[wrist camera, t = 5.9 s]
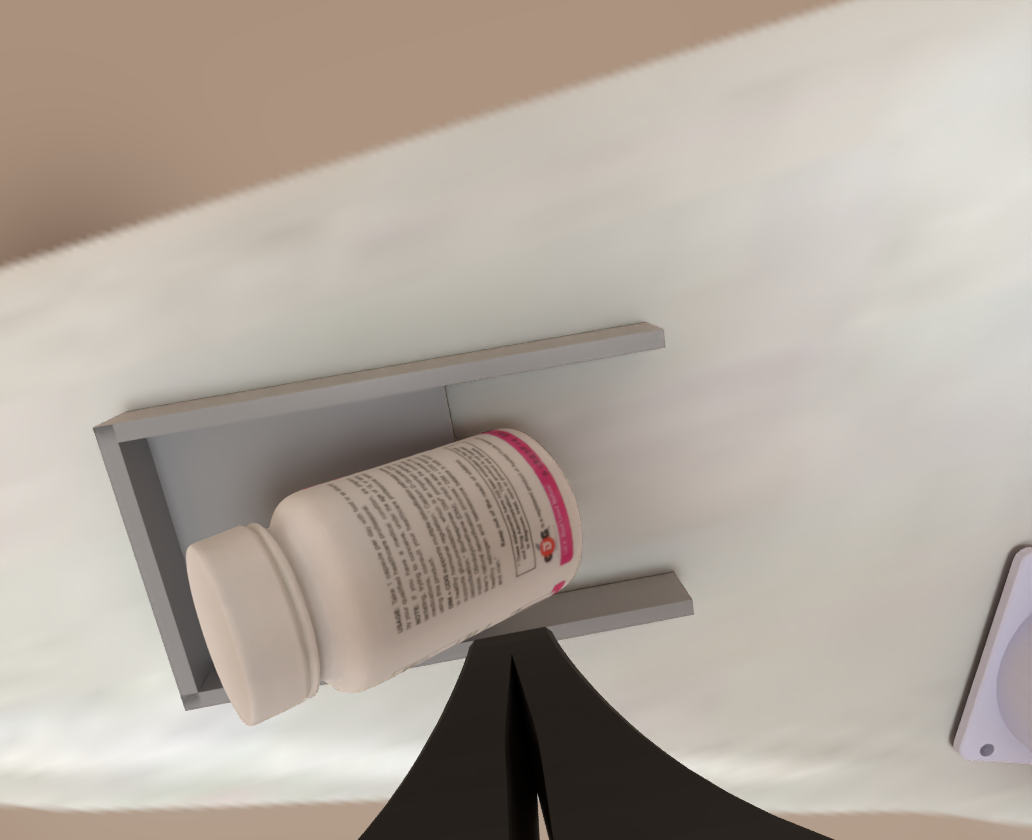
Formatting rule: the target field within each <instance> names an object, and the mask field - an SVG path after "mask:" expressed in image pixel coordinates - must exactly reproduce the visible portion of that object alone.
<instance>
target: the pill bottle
mask: <svg viewBox="0 0 1032 840" xmlns="http://www.w3.org/2000/svg"><path fill="white" fill-rule="evenodd" d="M581 553H582V527H581V519H580V514H579V510H578V506H577V503H576V500H575V497H574V494H573V492H572V490H571V487H570V485H569V483H568V481H567V479H566V478H565V476H564V474H563V473H562V471H561V469H560V468H559V466H558V465H557V463H556V462H555V461H554V459H553V458H552V457H551V456H550V455H549V454H548V452H547V451H546V450H545V449H544V448H543V447H542V446H541V445H540V444H539V443H538V442H537V441H535V440H534V439H533V438H531V437H530V436H528V435H526V434H525V433H523V432H521V431H518V430H515V429H509V428H502V429H494V430H491V431H487V432H483V433H481V434H478V435H474V436H471V437H468V438H465V439H462V440H459V441H456V442H453V443H450V444H447V445H444V446H441V447H438V448H435V449H432V450H428V451H425V452H422V453H418V454H415V455H412V456H409V457H406V458H403V459H399V460H397V461H393V462H390V463H386V464H384V465H381V466H378V467H374V468H371V469H368V470H365V471H361V472H358V473H355V474H352V475H349V476H345V477H341V478H338V479H335V480H332V481H329V482H326V483H322V484H318V485H315V486H312V487H309V488H305V489H302V490H300V491H298V492H295V493H293V494H291V495H289V496H287V497H286V498H285V499H284V500H282V501H281V502H280V503H279V505H278V506H277V507H276V509H275V511H274V513H273V515H272V519H271V522H270V527H269V528H267V529H265V528H264V527H262V526H261V525H259V524H257V523H250V524H249V525H248V526H247V527H245V526H237V527H234V528H232V529H229V530H227V531H224V532H222V533H219V534H217V535H214V536H212V537H209V538H206V539H203V540H201V541H198V542H195V543H193V544H191V545H190V546H189V547H188V548H187V552H186V565H187V574H188V579H189V584H190V589H191V593H192V597H193V601H194V605H195V608H196V612H197V615H198V619H199V622H200V626H201V629H202V632H203V635H204V638H205V641H206V644H207V647H208V650H209V653H210V655H211V658H212V661H213V663H214V666H215V668H216V671H217V673H218V676H219V678H220V680H221V683H222V685H223V687H224V689H225V692H226V694H227V696H228V698H229V700H230V702H231V704H232V705H233V707H234V709H235V711H236V712H237V714H238V715H239V717H240V718H241V720H242V721H243V722H244V723H245V724H246V725H248V726H253V725H256V724H259V723H261V722H263V721H265V720H267V719H269V718H271V717H273V716H275V715H278V714H280V713H282V712H284V711H286V710H288V709H290V708H292V707H294V706H296V705H298V704H300V703H302V702H303V701H304V700H305V699H306V698H312V697H313V696H315V695H316V693H317V691H318V689H319V684H320V681H325V682H326V683H327V684H329V685H330V686H332V687H333V688H335V689H337V690H340V691H343V692H350V693H354V692H360V691H364V690H366V689H369V688H371V687H374V686H376V685H378V684H380V683H382V682H384V681H386V680H388V679H390V678H392V677H394V676H396V675H398V674H400V673H402V672H404V671H406V670H407V669H409V668H411V667H413V666H415V665H417V664H419V663H421V662H423V661H425V660H427V659H429V658H431V657H433V656H435V655H437V654H439V653H441V652H443V651H445V650H447V649H449V648H451V647H452V646H454V645H456V644H459V643H461V642H462V641H464V640H466V639H468V638H470V637H472V636H474V635H476V634H478V633H480V632H481V631H483V630H485V629H487V628H489V627H491V626H493V625H495V624H497V623H499V622H501V621H503V620H505V619H507V618H509V617H511V616H513V615H515V614H517V613H519V612H521V611H523V610H525V609H527V608H529V607H531V606H533V605H535V604H537V603H539V602H541V601H543V600H545V599H546V598H549V597H550V596H552V595H554V594H555V593H557V592H558V591H560V590H561V589H563V588H564V587H565V586H566V585H568V583H569V582H570V581H571V580H572V578H573V577H574V575H575V573H576V571H577V569H578V566H579V563H580V559H581Z"/></svg>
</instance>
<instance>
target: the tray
mask: <svg viewBox="0 0 1032 840" xmlns="http://www.w3.org/2000/svg"><path fill="white" fill-rule="evenodd" d="M659 348H665V340H664V330H663V329H662V328H659V327H657V326H654V325H652V324H649V323H647V322H644V323H638V324H632V325H626V326H620V327H615V328H609V329H603V330H597V331H591V332H586V333H580V334H574V335H568V336H562V337H557V338H551V339H545V340H539V341H533V342H528V343H522V344H516V345H510V346H504V347H498V348H493V349H487V350H481V351H475V352H469V353H464V354H458V355H452V356H446V357H440V358H435V359H429V360H423V361H417V362H411V363H406V364H400V365H394V366H388V367H382V368H377V369H371V370H365V371H359V372H353V373H348V374H342V375H336V376H330V377H324V378H319V379H313V380H307V381H301V382H295V383H290V384H284V385H278V386H272V387H266V388H261V389H255V390H249V391H243V392H237V393H232V394H226V395H220V396H214V397H208V398H203V399H197V400H191V401H185V402H179V403H174V404H168V405H162V406H156V407H150V408H145V409H139V410H133V411H127V412H124V413H122V414H120V415H118V416H116V417H114V418H112V419H110V420H108V421H105V422H103V423H101V424H99V425H97V426H95V427H93V430H94V433H95V436H96V439H97V442H98V445H99V448H100V451H101V454H102V457H103V460H104V463H105V467H106V470H107V473H108V476H109V479H110V482H111V485H112V488H113V491H114V494H115V497H116V500H117V503H118V506H119V509H120V512H121V515H122V518H123V521H124V525H125V528H126V531H127V534H128V537H129V540H130V543H131V546H132V549H133V552H134V555H135V558H136V561H137V564H138V567H139V570H140V573H141V576H142V580H143V583H144V586H145V589H146V592H147V595H148V598H149V601H150V604H151V607H152V610H153V613H154V616H155V619H156V622H157V625H158V628H159V631H160V634H161V638H162V641H163V644H164V647H165V650H166V653H167V656H168V659H169V662H170V665H171V668H172V671H173V674H174V677H175V680H176V683H177V686H178V689H179V692H180V696H181V699H182V702H183V705H184V708H185V711H187V710H193V709H198V708H203V707H208V706H214V705H219V704H224V703H229V702H230V700H229V698H228V696H227V694H226V692H225V689H224V687H223V685H222V683H221V680H220V678H219V676H218V673H217V671H216V668H215V666H214V663H213V661H212V658H211V655H210V653H209V650H208V647H207V644H206V641H205V638H204V635H203V632H202V629H201V626H200V622H199V619H198V615H197V612H196V608H195V605H194V601H193V597H192V593H191V589H190V584H189V579H188V574H187V565H186V552H187V548H188V547H189V546H190V545H191V544H193V543H195V542H198V541H201V540H203V539H206V538H209V537H212V536H214V535H217V534H219V533H222V532H224V531H227V530H229V529H232V528H234V527H237V526H245V527H247V526H248V525H249V524H250V523H257V524H259V525H261V526H262V527H264V528H265V529H267V528H269V527H270V522H271V519H272V515H273V513H274V511H275V509H276V507H277V506H278V505H279V503H280V502H281V501H282V500H284V499H285V498H286V497H287V496H289V495H291V494H293V493H295V492H298V491H300V490H302V489H305V488H309V487H312V486H315V485H318V484H322V483H326V482H329V481H332V480H335V479H338V478H341V477H345V476H349V475H352V474H355V473H358V472H361V471H365V470H368V469H371V468H374V467H378V466H381V465H384V464H386V463H390V462H393V461H397V460H399V459H403V458H406V457H409V456H412V455H415V454H418V453H422V452H425V451H428V450H432V449H435V448H438V447H441V446H444V445H447V444H450V443H453V442H455V438H454V433H453V428H452V422H451V417H450V412H449V407H448V401H447V396H446V391H445V386H447V385H452V384H458V383H464V382H470V381H475V380H481V379H487V378H493V377H498V376H504V375H510V374H516V373H521V372H527V371H533V370H539V369H544V368H550V367H556V366H561V365H567V364H573V363H579V362H584V361H590V360H596V359H602V358H607V357H613V356H619V355H625V354H630V353H636V352H642V351H648V350H653V349H659ZM688 615H694V611H693V601H692V598H691V597H690V595H689V594H688V592H687V591H686V589H685V588H684V586H683V585H682V583H681V582H680V580H679V579H678V577H677V576H676V574H675V573H674V572H671V573H666V574H660V575H655V576H650V577H644V578H639V579H634V580H628V581H623V582H618V583H612V584H607V585H602V586H596V587H591V588H586V589H580V590H575V591H569V592H564V593H559V594H554V595H552V596H550V597H549V598H546V599H545V600H543V601H541V602H539V603H537V604H535V605H533V606H531V607H529V608H527V609H525V610H523V611H521V612H519V613H517V614H515V615H513V616H511V617H509V618H507V619H505V620H503V621H501V622H499V623H497V624H495V625H493V626H491V627H489V628H487V629H485V630H483V631H481V632H480V633H478V634H476V635H474V636H472V637H470V638H468V639H466V640H464V641H462V642H461V643H459V644H456V645H454V646H452V647H451V648H449V649H447V650H445V651H443V652H441V653H439V654H437V655H435V656H433V657H431V658H429V659H427V660H425V661H423V662H421V663H419V664H417V665H415V666H413V667H411V668H414V667H419V666H425V665H430V664H435V663H440V662H446V661H451V660H456V659H461V658H466V657H467V654H468V650H469V647H470V646H471V644H472V643H473V642H474V640H477V639H482V638H487V637H493V636H498V635H503V634H508V633H514V632H519V631H524V630H530V629H535V628H540V627H546V628H548V629H549V630H551V631H552V632H553V634H554V636H555V638H556V640H562V639H567V638H572V637H578V636H583V635H588V634H593V633H599V632H604V631H609V630H614V629H620V628H625V627H630V626H636V625H641V624H646V623H651V622H657V621H662V620H667V619H672V618H678V617H683V616H688ZM324 684H327V683H326V682H325V681H320V684H319V685H324Z"/></svg>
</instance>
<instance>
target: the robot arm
mask: <svg viewBox="0 0 1032 840" xmlns="http://www.w3.org/2000/svg"><path fill="white" fill-rule="evenodd" d="M953 746H954V749H955V751H956V752H957V753H958V754H959V755H960V756H961V757H962V758H963V759H965V760H969V761H985V762H1000V763H1016V764H1032V547H1026V548H1024V549H1021V550H1020V551H1019V552H1018V553H1017V554H1016V555H1015V557H1014V559H1013V562H1012V565H1011V568H1010V571H1009V574H1008V577H1007V580H1006V583H1005V586H1004V589H1003V592H1002V596H1001V599H1000V602H999V605H998V608H997V611H996V614H995V617H994V620H993V623H992V626H991V629H990V632H989V635H988V638H987V642H986V645H985V648H984V651H983V654H982V657H981V660H980V663H979V666H978V669H977V672H976V675H975V678H974V681H973V685H972V688H971V691H970V694H969V697H968V700H967V703H966V706H965V709H964V712H963V715H962V718H961V721H960V724H959V727H958V731H957V734H956V737H955V740H954V745H953ZM982 746H983V747H982ZM537 793H538V797H539V801H540V805H541V809H542V813H543V817H544V821H545V825H546V829H547V833H548V837H549V840H834V839H831V838H829V837H826V836H824V835H821V834H819V833H816V832H814V831H811V830H809V829H806V828H804V827H801V826H799V825H796V824H794V823H791V822H789V821H786V820H784V819H781V818H779V817H777V816H774V815H772V814H770V813H768V812H766V811H764V810H762V809H760V808H758V807H756V806H754V805H752V804H750V803H748V802H746V801H744V800H742V799H740V798H738V797H736V796H734V795H732V794H730V793H728V792H726V791H725V790H723V789H721V788H720V787H718V786H716V785H715V784H713V783H711V782H710V781H708V780H706V779H705V778H703V777H701V776H700V775H698V774H696V773H695V772H693V771H691V770H690V769H688V768H687V767H685V766H684V765H682V764H681V763H680V762H678V761H677V760H675V759H674V758H673V757H671V756H670V755H668V754H667V753H666V752H664V751H663V750H662V749H660V748H659V747H658V746H657V745H655V744H654V743H653V742H651V741H650V740H649V739H648V738H646V737H645V736H644V735H643V734H642V733H640V732H639V731H638V730H637V729H636V728H635V727H633V726H632V725H631V724H630V723H629V722H628V721H627V720H626V719H625V718H623V717H622V716H621V715H620V714H619V713H618V712H617V711H616V710H615V709H614V708H613V707H612V706H611V705H610V704H609V703H608V702H607V701H606V700H605V699H604V698H603V697H602V696H601V695H600V694H599V693H598V692H597V691H596V689H595V688H594V687H593V686H592V685H591V684H590V683H589V682H588V681H587V679H586V678H585V677H584V676H583V675H582V674H581V673H580V671H579V670H578V669H577V668H576V667H575V665H574V664H573V663H572V661H571V660H570V659H569V657H568V656H567V655H566V653H565V652H564V651H563V649H562V648H561V646H560V645H559V643H558V641H557V640H556V638H555V636H554V634H553V632H552V631H551V630H549V629H548V628H546V627H540V628H535V629H530V630H524V631H519V632H514V633H508V634H503V635H498V636H493V637H487V638H482V639H477V640H474V642H473V643H472V644H471V646H470V647H469V650H468V654H467V657H466V660H465V662H464V665H463V668H462V670H461V673H460V675H459V678H458V680H457V683H456V685H455V687H454V690H453V692H452V694H451V696H450V698H449V700H448V702H447V704H446V706H445V709H444V711H443V713H442V715H441V717H440V719H439V721H438V723H437V725H436V726H435V728H434V730H433V732H432V733H431V735H430V737H429V739H428V741H427V742H426V744H425V746H424V748H423V749H422V751H421V753H420V755H419V756H418V758H417V760H416V761H415V763H414V764H413V766H412V768H411V769H410V771H409V772H408V774H407V775H406V777H405V778H404V780H403V781H402V783H401V784H400V786H399V787H398V789H397V790H396V791H395V793H394V794H393V796H392V797H391V799H390V800H389V801H388V803H387V804H386V806H385V807H384V808H383V809H382V811H381V812H380V813H379V815H378V816H377V817H376V818H375V819H374V821H373V822H372V823H371V824H370V826H369V827H368V828H367V830H366V831H365V832H364V833H363V834H362V835H361V837H360V838H359V839H358V840H540V838H539V818H538V798H537Z"/></svg>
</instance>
